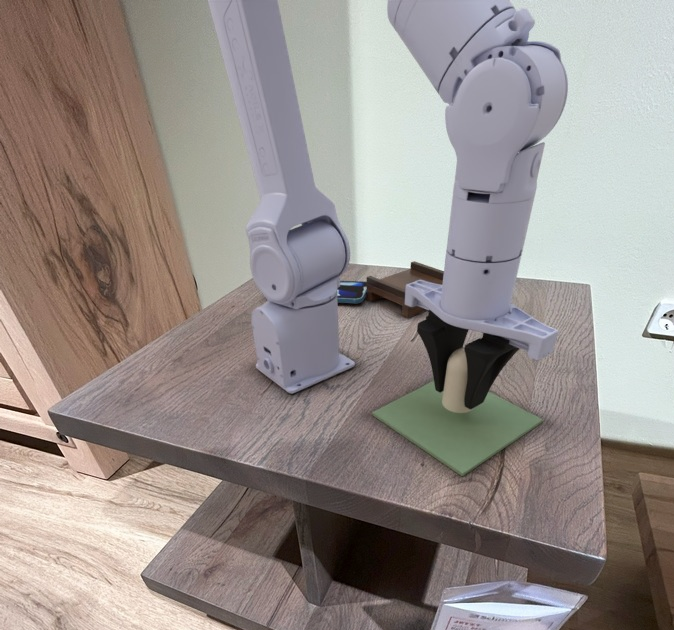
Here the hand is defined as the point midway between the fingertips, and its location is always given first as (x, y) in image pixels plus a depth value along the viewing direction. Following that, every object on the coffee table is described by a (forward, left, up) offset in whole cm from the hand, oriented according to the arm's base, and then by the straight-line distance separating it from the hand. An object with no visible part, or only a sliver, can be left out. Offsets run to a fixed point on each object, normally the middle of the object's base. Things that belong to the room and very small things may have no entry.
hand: (459, 395), depth 44 cm
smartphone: (+9, +36, -3) cm, 37 cm away
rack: (+18, +25, -3) cm, 31 cm away
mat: (0, 0, -3) cm, 3 cm away
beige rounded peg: (0, 0, -1) cm, 1 cm away
